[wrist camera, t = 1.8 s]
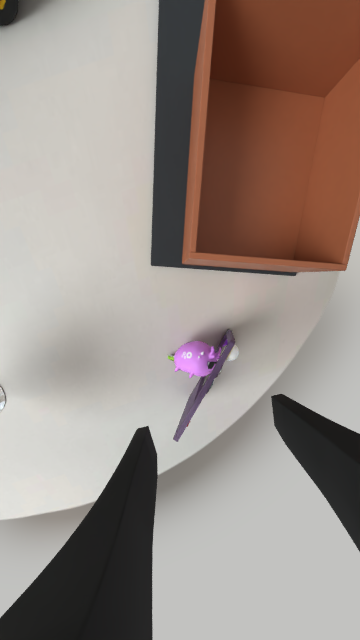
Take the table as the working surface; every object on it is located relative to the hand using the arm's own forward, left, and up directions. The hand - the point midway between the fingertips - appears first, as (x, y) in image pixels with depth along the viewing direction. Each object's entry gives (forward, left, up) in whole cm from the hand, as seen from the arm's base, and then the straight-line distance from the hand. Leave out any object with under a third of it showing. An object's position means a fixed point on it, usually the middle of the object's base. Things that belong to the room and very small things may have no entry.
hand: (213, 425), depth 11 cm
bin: (-8, -14, -10) cm, 19 cm away
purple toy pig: (0, 0, -10) cm, 10 cm away
